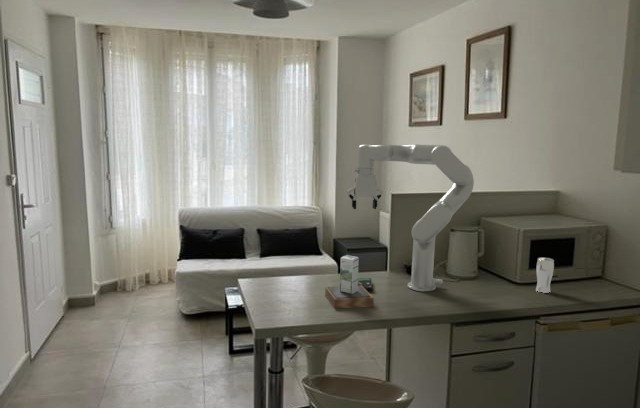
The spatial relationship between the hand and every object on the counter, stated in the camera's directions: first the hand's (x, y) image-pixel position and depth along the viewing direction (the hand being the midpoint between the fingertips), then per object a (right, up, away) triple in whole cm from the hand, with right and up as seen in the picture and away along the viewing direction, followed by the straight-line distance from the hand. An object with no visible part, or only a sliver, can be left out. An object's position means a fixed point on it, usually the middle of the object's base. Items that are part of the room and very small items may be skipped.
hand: (364, 208), depth 218 cm
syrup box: (-9, -34, -25) cm, 43 cm away
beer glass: (+80, -38, -5) cm, 89 cm away
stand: (-9, -38, -25) cm, 46 cm away
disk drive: (-2, -36, -5) cm, 36 cm away
